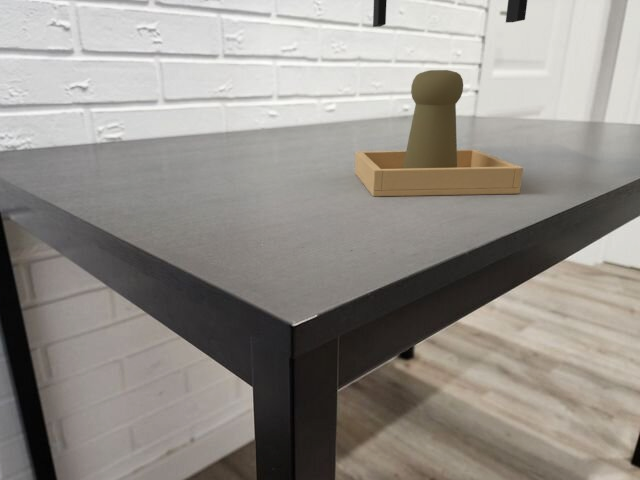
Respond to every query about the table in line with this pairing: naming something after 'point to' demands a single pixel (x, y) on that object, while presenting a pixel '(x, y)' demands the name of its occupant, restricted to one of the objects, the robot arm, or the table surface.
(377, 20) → the robot arm
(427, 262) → the table surface
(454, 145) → the olive pawn
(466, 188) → the tray
